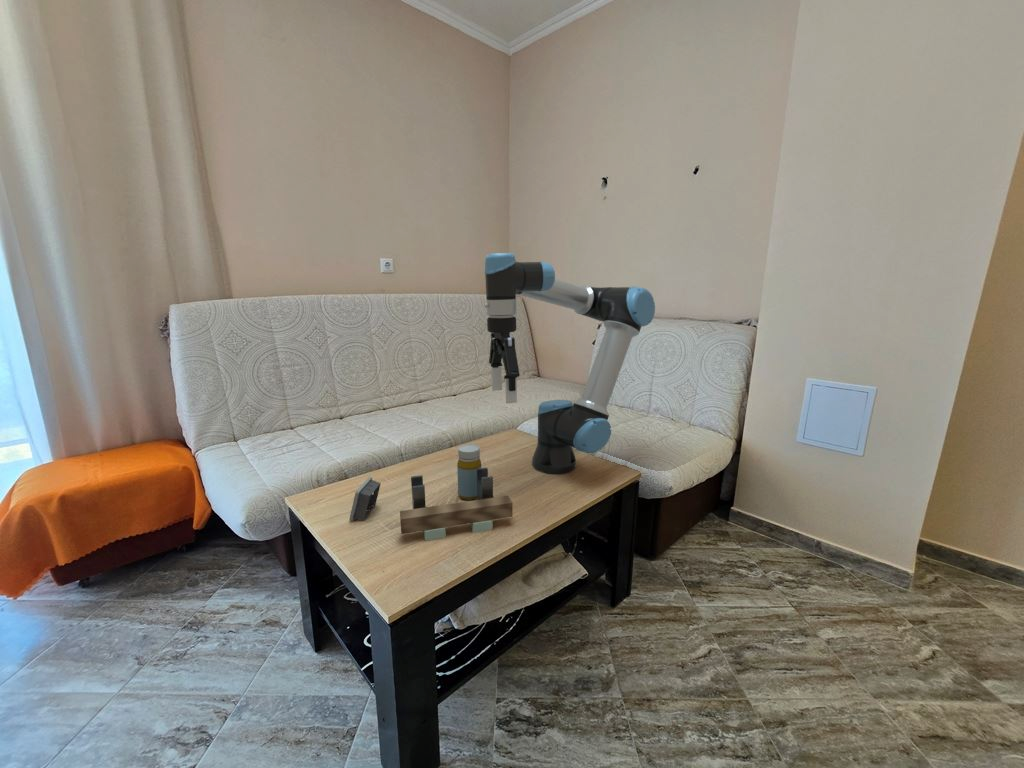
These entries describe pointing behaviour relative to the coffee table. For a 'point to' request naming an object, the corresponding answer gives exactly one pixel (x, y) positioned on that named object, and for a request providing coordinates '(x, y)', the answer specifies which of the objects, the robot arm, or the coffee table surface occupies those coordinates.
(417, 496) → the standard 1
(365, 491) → the electrical switch
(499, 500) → the rail
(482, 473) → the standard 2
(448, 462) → the coffee table surface
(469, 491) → the bottle
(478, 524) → the blocks
